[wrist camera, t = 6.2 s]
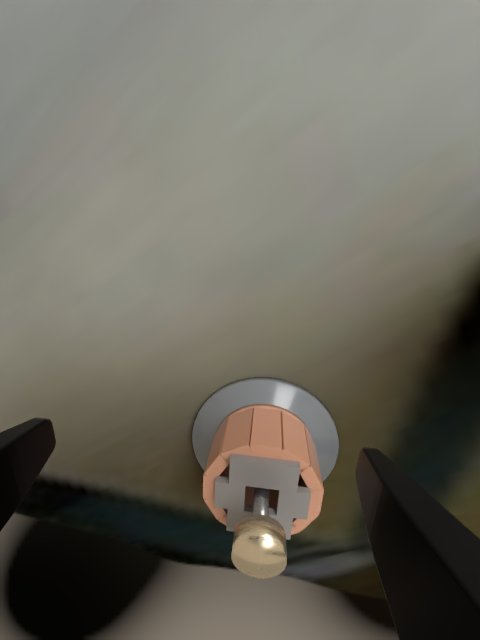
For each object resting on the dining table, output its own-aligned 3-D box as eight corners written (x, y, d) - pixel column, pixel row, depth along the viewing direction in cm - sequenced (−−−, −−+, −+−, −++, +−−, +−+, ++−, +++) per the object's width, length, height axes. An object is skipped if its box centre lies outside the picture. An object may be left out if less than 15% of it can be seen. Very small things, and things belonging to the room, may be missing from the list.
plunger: (292, 482, 24) (301, 598, 16) (229, 474, 24) (210, 583, 17) (299, 429, 22) (313, 531, 15) (232, 422, 23) (212, 517, 15)
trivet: (326, 504, 26) (327, 510, 25) (193, 486, 27) (192, 492, 26) (348, 385, 22) (350, 389, 22) (193, 370, 23) (192, 373, 23)
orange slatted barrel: (303, 507, 26) (311, 572, 21) (213, 495, 26) (200, 555, 21) (319, 409, 22) (332, 459, 18) (216, 398, 23) (202, 444, 18)
